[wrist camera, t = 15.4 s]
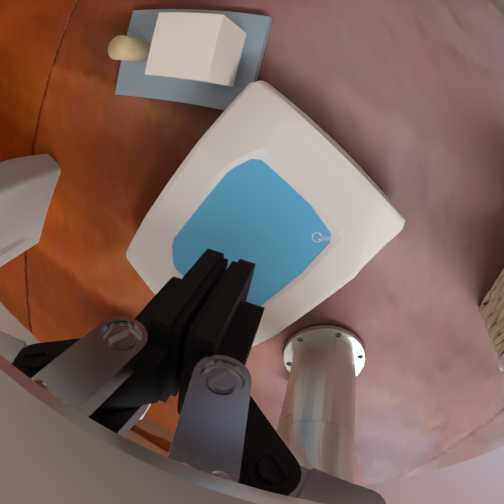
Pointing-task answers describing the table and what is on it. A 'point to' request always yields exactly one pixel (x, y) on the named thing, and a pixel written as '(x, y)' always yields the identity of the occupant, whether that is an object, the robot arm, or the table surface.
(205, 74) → the matte white cube
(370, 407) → the table surface
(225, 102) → the slate board
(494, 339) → the storage basket
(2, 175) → the grey triangular planter
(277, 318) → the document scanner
